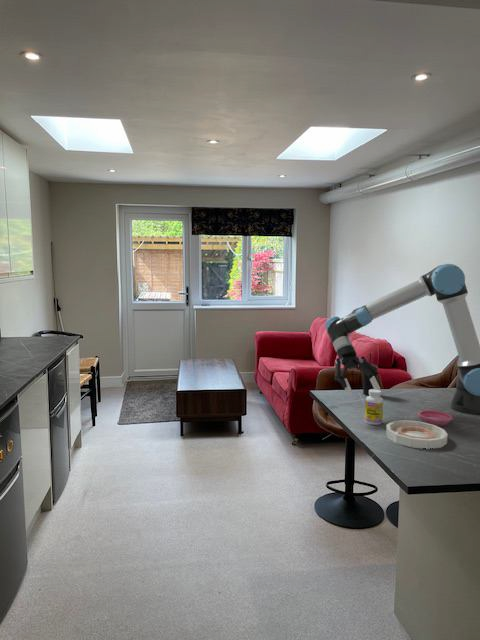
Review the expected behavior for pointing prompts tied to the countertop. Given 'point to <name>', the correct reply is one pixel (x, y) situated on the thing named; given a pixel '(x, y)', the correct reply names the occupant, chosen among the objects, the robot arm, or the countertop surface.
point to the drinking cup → (368, 380)
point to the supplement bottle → (374, 407)
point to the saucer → (435, 417)
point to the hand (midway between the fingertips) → (364, 393)
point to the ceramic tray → (416, 434)
